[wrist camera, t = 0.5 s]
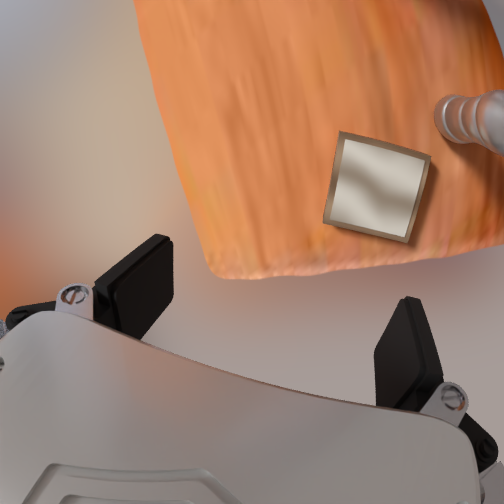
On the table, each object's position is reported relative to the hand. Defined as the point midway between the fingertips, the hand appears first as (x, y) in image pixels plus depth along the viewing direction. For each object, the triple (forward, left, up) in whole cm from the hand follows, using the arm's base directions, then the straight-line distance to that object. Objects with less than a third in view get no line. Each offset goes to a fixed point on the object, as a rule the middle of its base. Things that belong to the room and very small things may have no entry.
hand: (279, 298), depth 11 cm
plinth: (0, +8, -30) cm, 31 cm away
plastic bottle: (-12, +17, -30) cm, 36 cm away
